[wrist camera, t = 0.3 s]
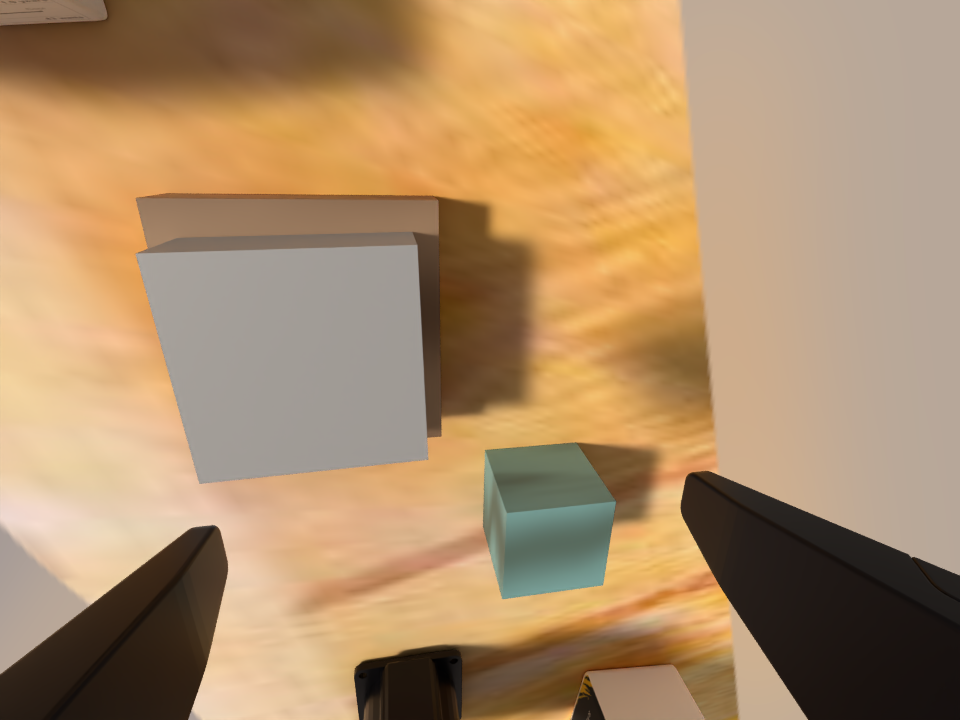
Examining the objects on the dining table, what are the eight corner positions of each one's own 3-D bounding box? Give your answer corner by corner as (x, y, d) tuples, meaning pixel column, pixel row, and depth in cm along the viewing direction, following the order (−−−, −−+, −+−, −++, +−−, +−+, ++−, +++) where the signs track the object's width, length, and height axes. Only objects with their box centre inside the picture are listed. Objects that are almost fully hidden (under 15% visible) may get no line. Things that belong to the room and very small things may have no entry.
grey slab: (422, 420, 21) (428, 459, 18) (225, 438, 19) (199, 483, 17) (412, 231, 18) (417, 245, 15) (177, 237, 16) (135, 253, 14)
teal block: (567, 515, 28) (603, 585, 23) (482, 525, 27) (502, 599, 22) (575, 441, 26) (616, 501, 21) (484, 449, 25) (506, 513, 20)
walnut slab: (435, 404, 24) (441, 436, 21) (221, 419, 22) (198, 454, 20) (431, 194, 20) (438, 200, 17) (172, 192, 18) (135, 198, 16)
